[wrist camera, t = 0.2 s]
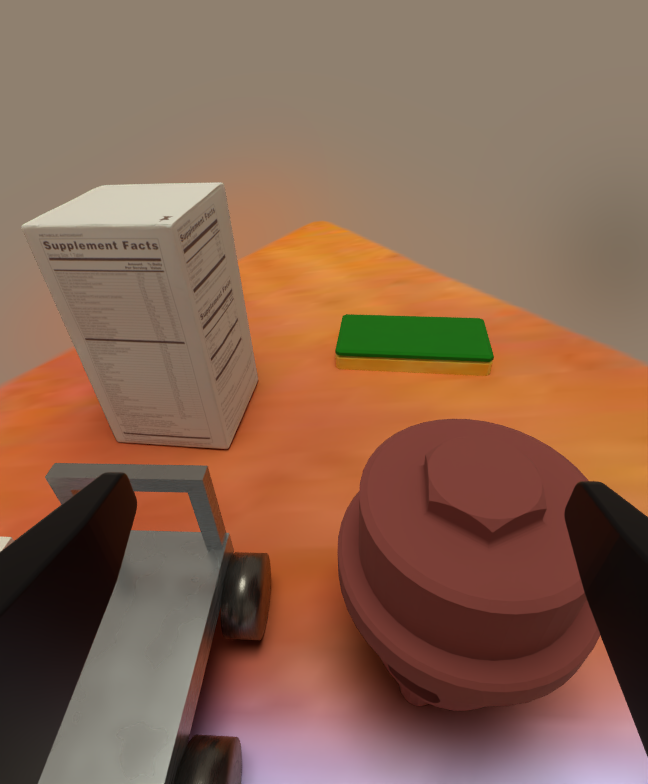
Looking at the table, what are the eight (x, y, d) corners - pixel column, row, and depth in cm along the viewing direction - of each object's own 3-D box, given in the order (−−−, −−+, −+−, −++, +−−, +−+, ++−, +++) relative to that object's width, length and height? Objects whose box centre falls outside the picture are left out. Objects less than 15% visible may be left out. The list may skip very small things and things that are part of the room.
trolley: (224, 892, 16) (150, 839, 10) (-49, 870, 17) (-268, 807, 11) (273, 579, 26) (249, 456, 20) (96, 573, 27) (21, 452, 20)
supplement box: (261, 379, 41) (230, 180, 31) (230, 452, 34) (178, 223, 24) (161, 374, 43) (101, 180, 32) (111, 443, 35) (13, 222, 25)
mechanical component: (573, 619, 23) (504, 834, 17) (401, 524, 28) (300, 665, 22) (676, 447, 16) (620, 718, 10) (419, 359, 21) (273, 502, 15)
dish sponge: (343, 333, 48) (343, 313, 47) (479, 338, 46) (483, 317, 45) (335, 373, 43) (334, 351, 41) (489, 380, 41) (494, 357, 39)
